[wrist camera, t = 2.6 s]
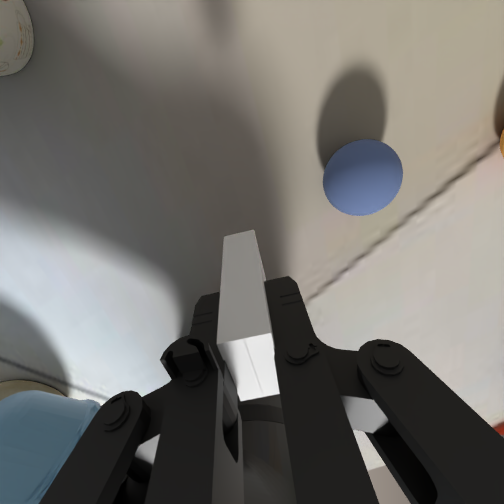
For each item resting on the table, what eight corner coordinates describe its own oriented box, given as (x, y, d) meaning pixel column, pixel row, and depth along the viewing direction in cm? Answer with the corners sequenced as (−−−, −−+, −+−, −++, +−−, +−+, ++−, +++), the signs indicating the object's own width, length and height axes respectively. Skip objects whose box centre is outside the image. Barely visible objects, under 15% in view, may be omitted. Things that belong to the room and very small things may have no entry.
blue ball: (317, 208, 24) (339, 234, 19) (311, 144, 21) (334, 156, 16) (378, 194, 23) (416, 217, 19) (379, 128, 21) (424, 134, 16)
